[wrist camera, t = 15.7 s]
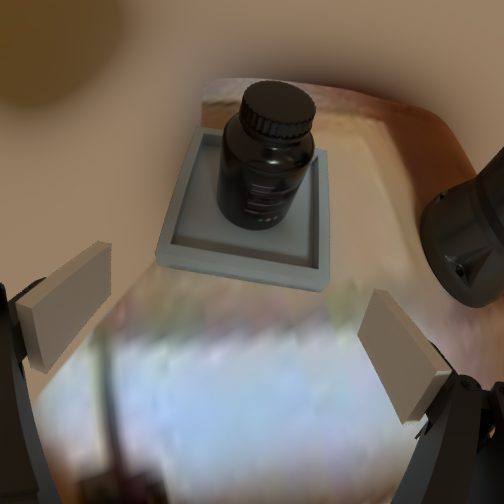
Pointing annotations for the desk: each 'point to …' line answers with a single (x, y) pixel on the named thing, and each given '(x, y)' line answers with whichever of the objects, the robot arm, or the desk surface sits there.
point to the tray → (241, 240)
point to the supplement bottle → (265, 155)
